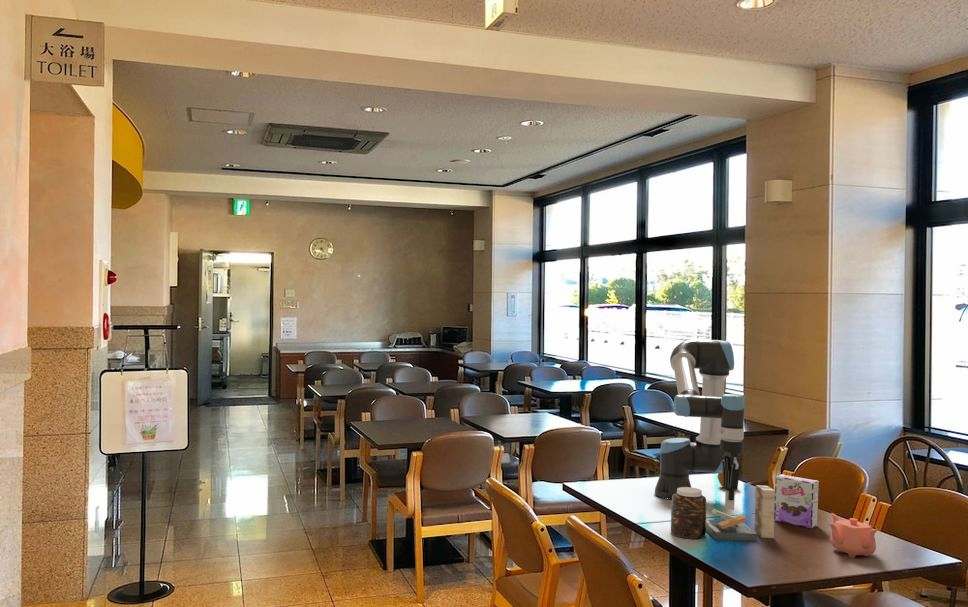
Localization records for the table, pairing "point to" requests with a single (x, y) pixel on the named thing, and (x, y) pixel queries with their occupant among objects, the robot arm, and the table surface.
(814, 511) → the candy box
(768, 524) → the birch block
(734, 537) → the grey square base
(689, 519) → the jar
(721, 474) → the apple
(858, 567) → the table surface
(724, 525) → the orange wooden board
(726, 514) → the paddle far
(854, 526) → the pink rounded pig figure
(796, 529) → the table surface
